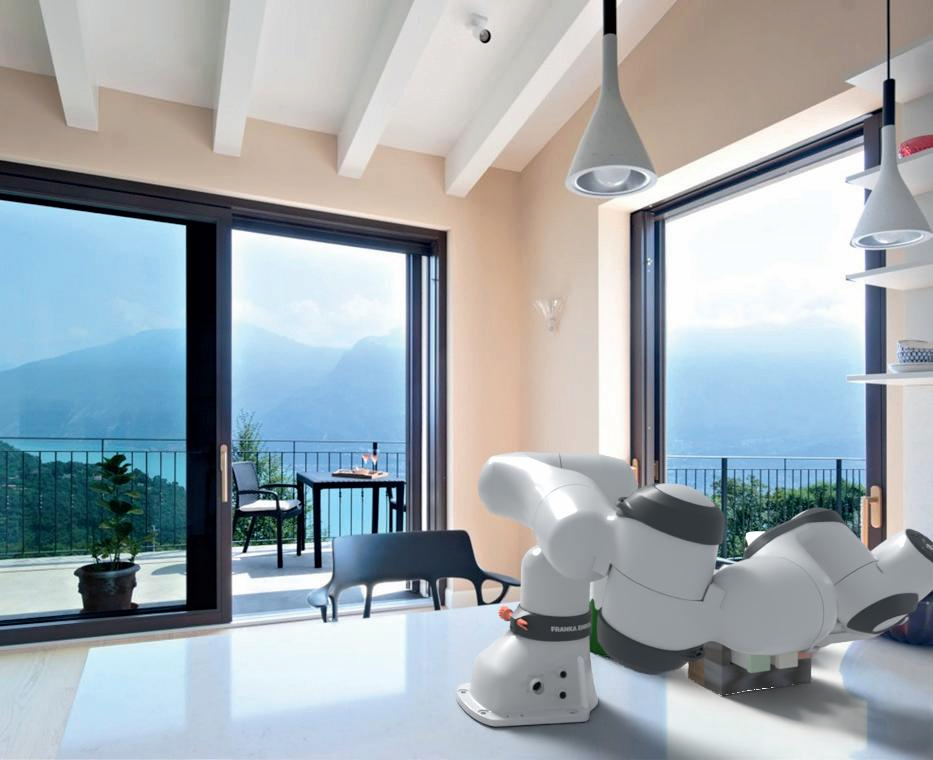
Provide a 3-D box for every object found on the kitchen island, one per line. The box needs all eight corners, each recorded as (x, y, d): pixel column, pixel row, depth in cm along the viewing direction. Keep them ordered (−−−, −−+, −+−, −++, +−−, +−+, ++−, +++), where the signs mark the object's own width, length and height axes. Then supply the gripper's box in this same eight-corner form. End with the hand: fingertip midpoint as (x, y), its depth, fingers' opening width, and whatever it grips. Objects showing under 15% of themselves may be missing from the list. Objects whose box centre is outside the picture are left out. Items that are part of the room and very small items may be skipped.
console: (721, 696, 110) (722, 621, 111) (688, 678, 117) (688, 608, 118) (811, 682, 117) (811, 612, 118) (774, 666, 125) (774, 600, 126)
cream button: (779, 669, 109) (779, 643, 110) (756, 658, 114) (756, 634, 114) (797, 666, 111) (797, 641, 111) (774, 656, 115) (774, 632, 115)
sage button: (751, 673, 107) (751, 647, 107) (728, 662, 112) (729, 638, 112) (770, 670, 109) (770, 645, 109) (747, 660, 113) (747, 635, 113)
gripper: (822, 630, 100) (770, 673, 108) (916, 618, 107) (860, 660, 116) (797, 591, 104) (749, 636, 112) (889, 583, 112) (837, 626, 120)
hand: (806, 648), depth 114 cm, fingers closed, pressing on coral button
